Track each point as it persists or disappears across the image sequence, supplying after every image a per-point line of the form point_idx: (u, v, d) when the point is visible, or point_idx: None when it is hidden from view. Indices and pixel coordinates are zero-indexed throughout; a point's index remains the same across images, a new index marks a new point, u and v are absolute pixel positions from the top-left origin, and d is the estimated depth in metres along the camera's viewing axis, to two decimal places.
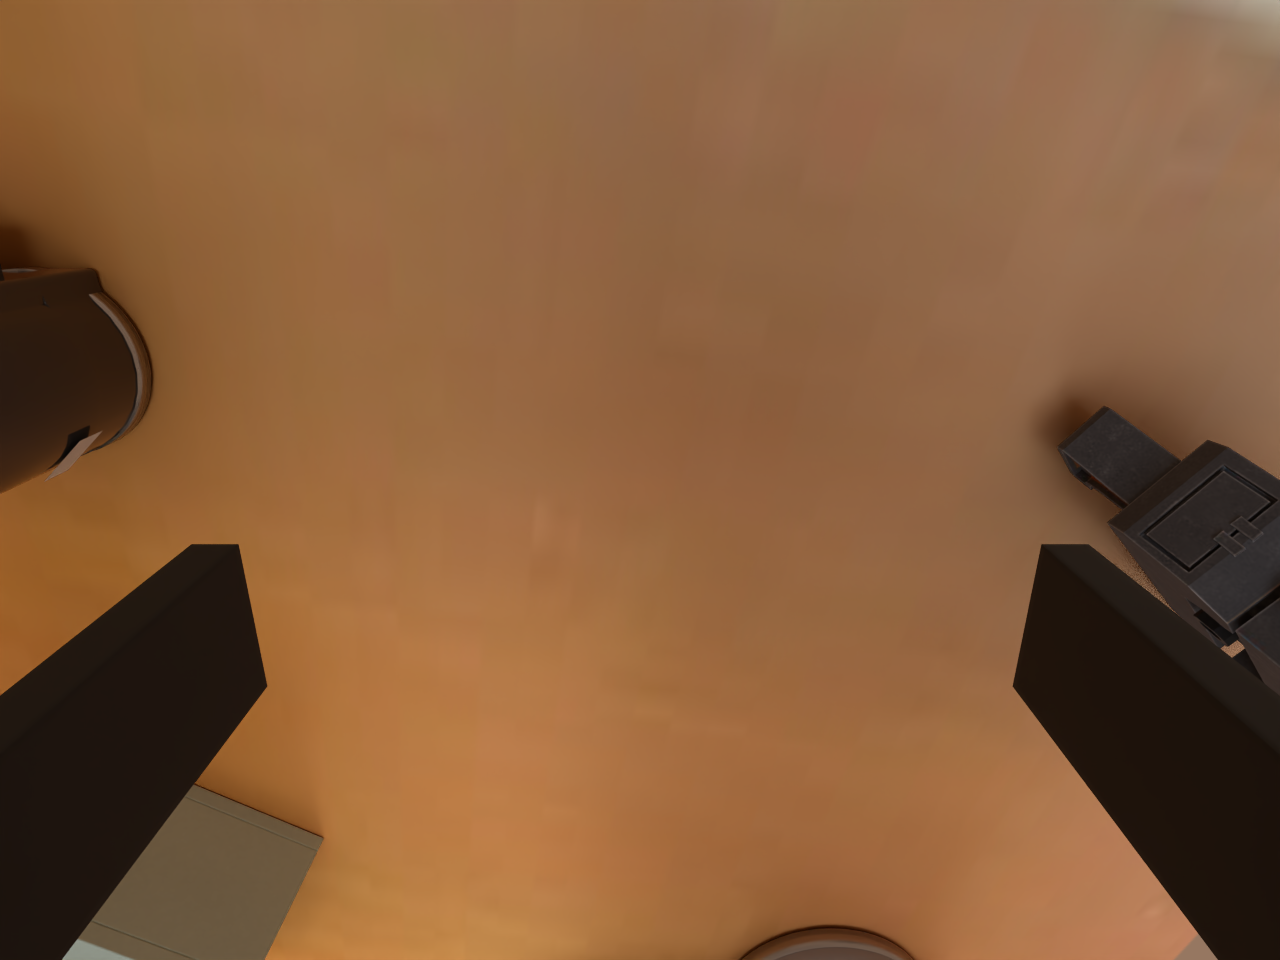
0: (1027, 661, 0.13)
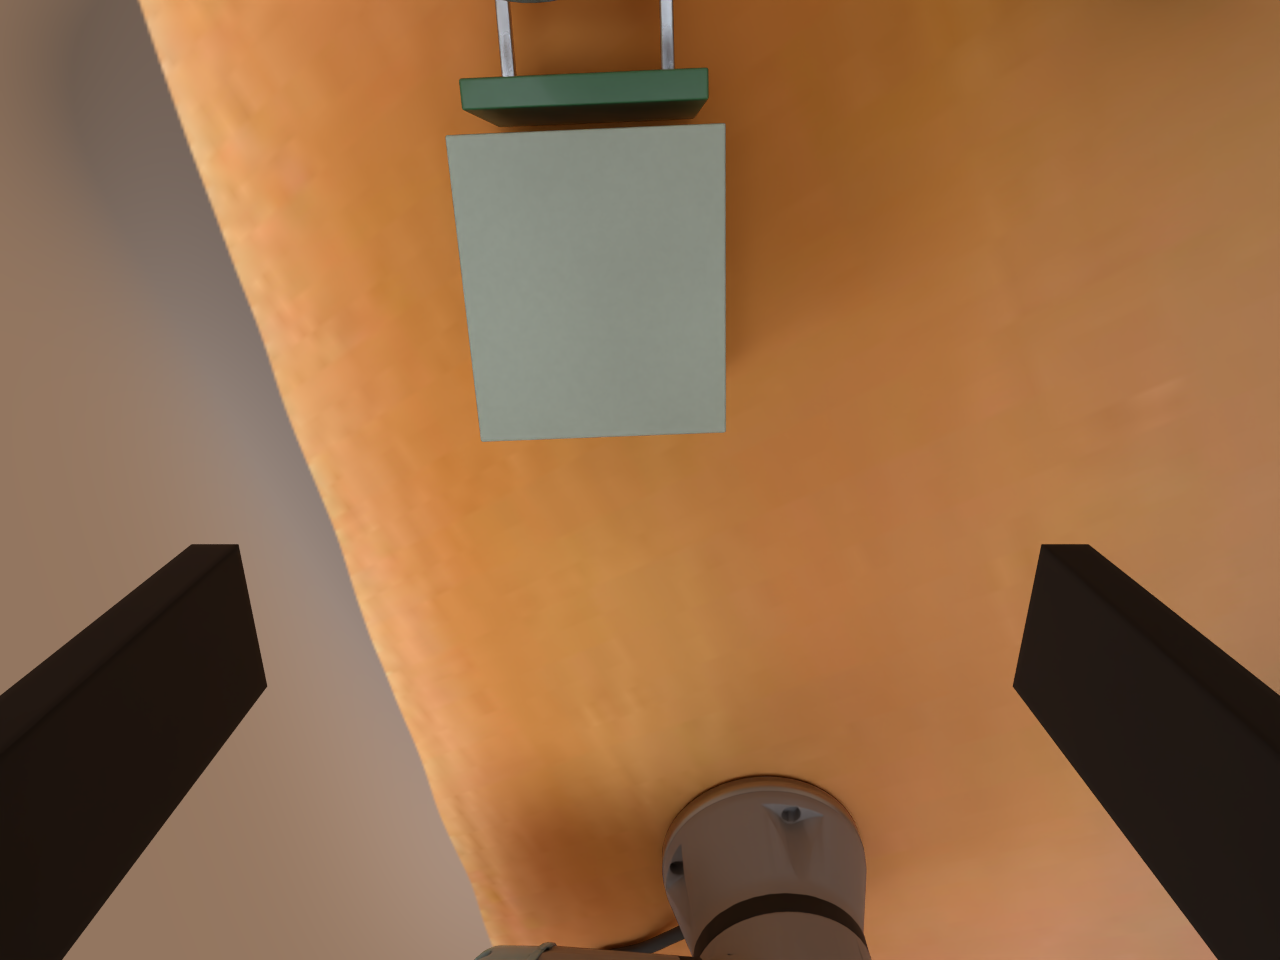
0: (1027, 661, 0.13)
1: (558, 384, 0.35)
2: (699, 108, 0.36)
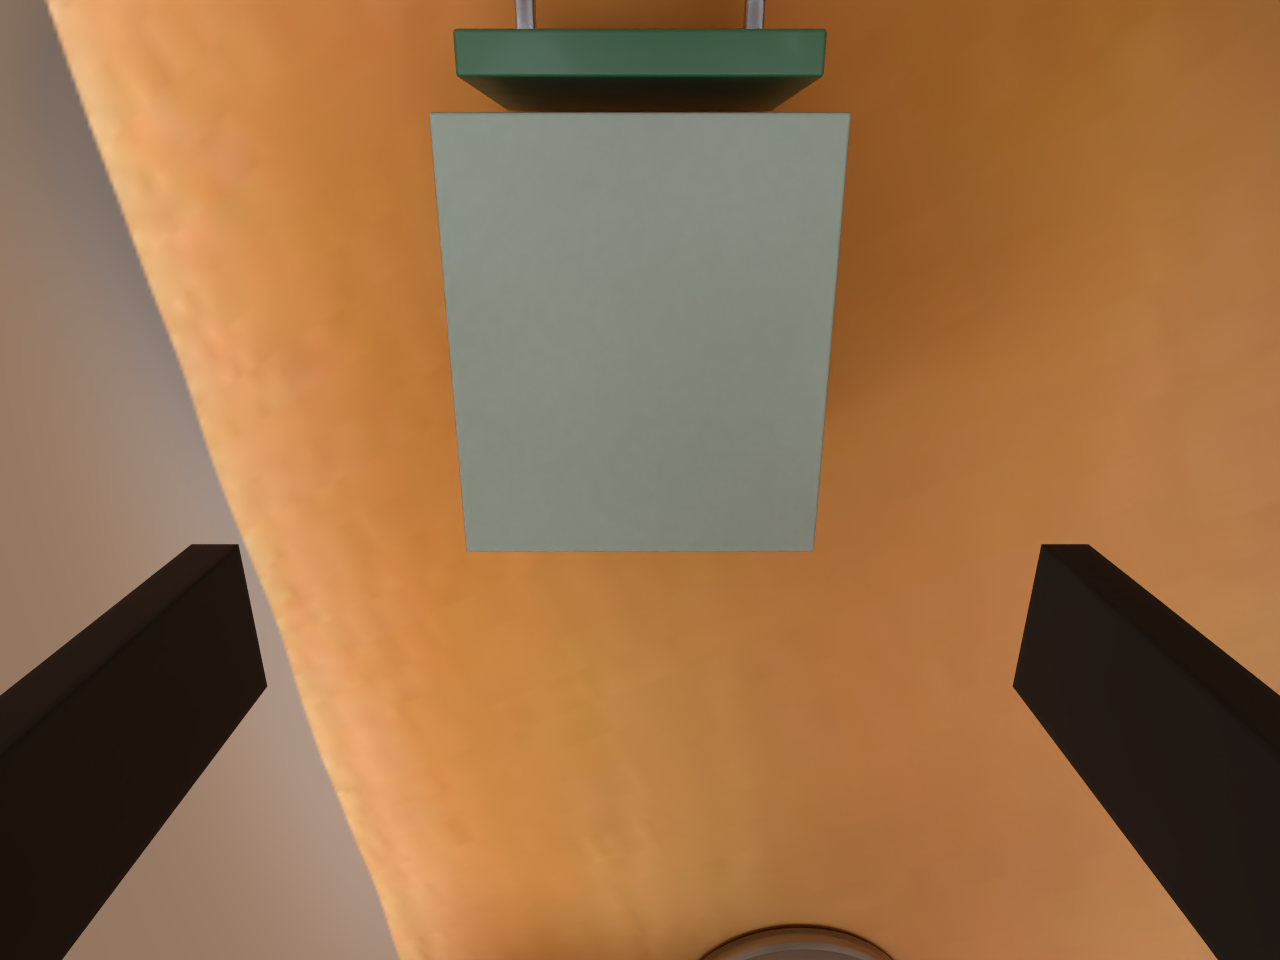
0: (1026, 661, 0.13)
1: (580, 478, 0.25)
2: (795, 93, 0.25)
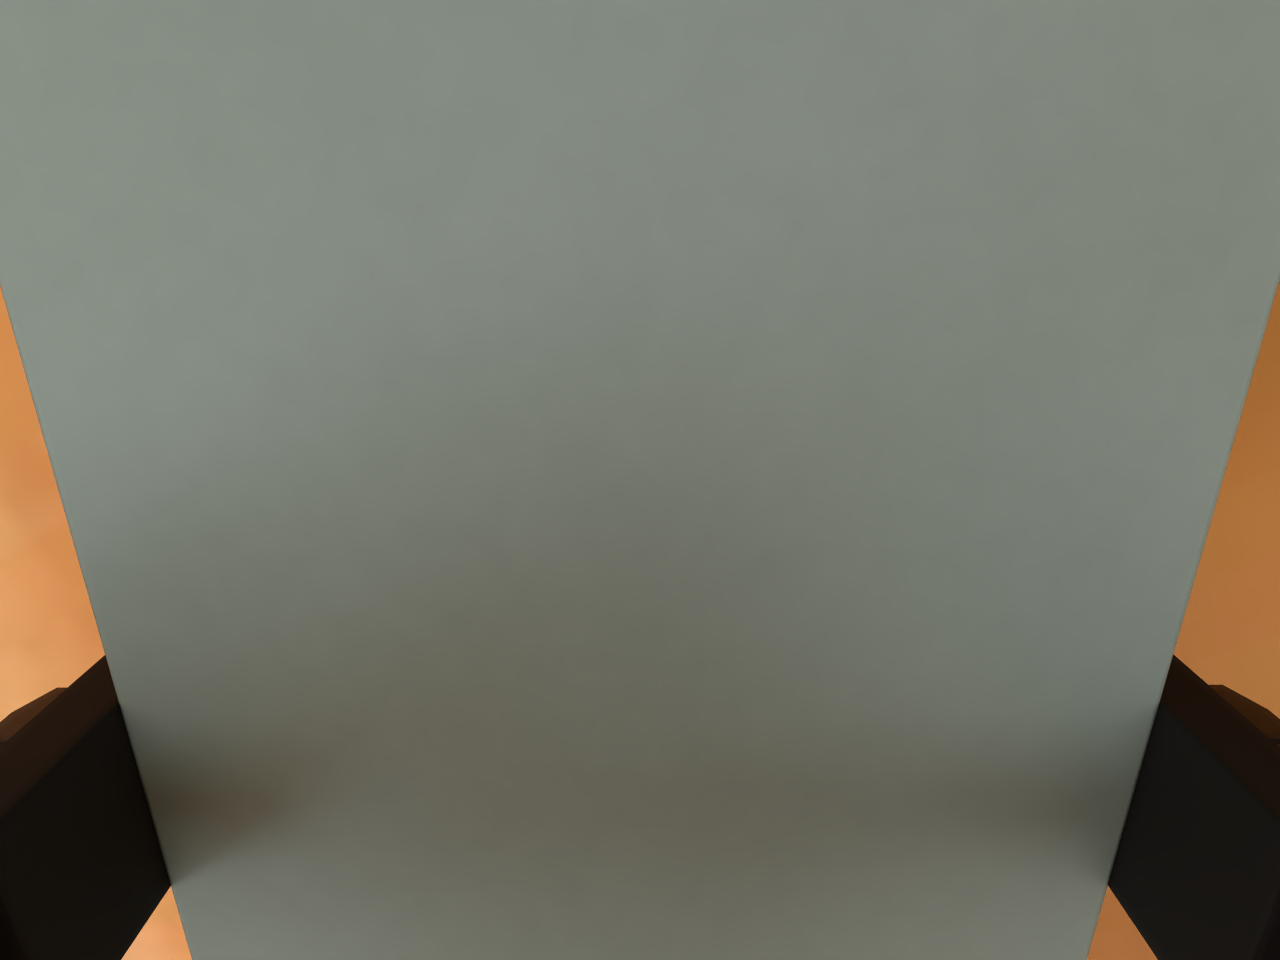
0: None
1: (486, 906, 0.10)
2: None
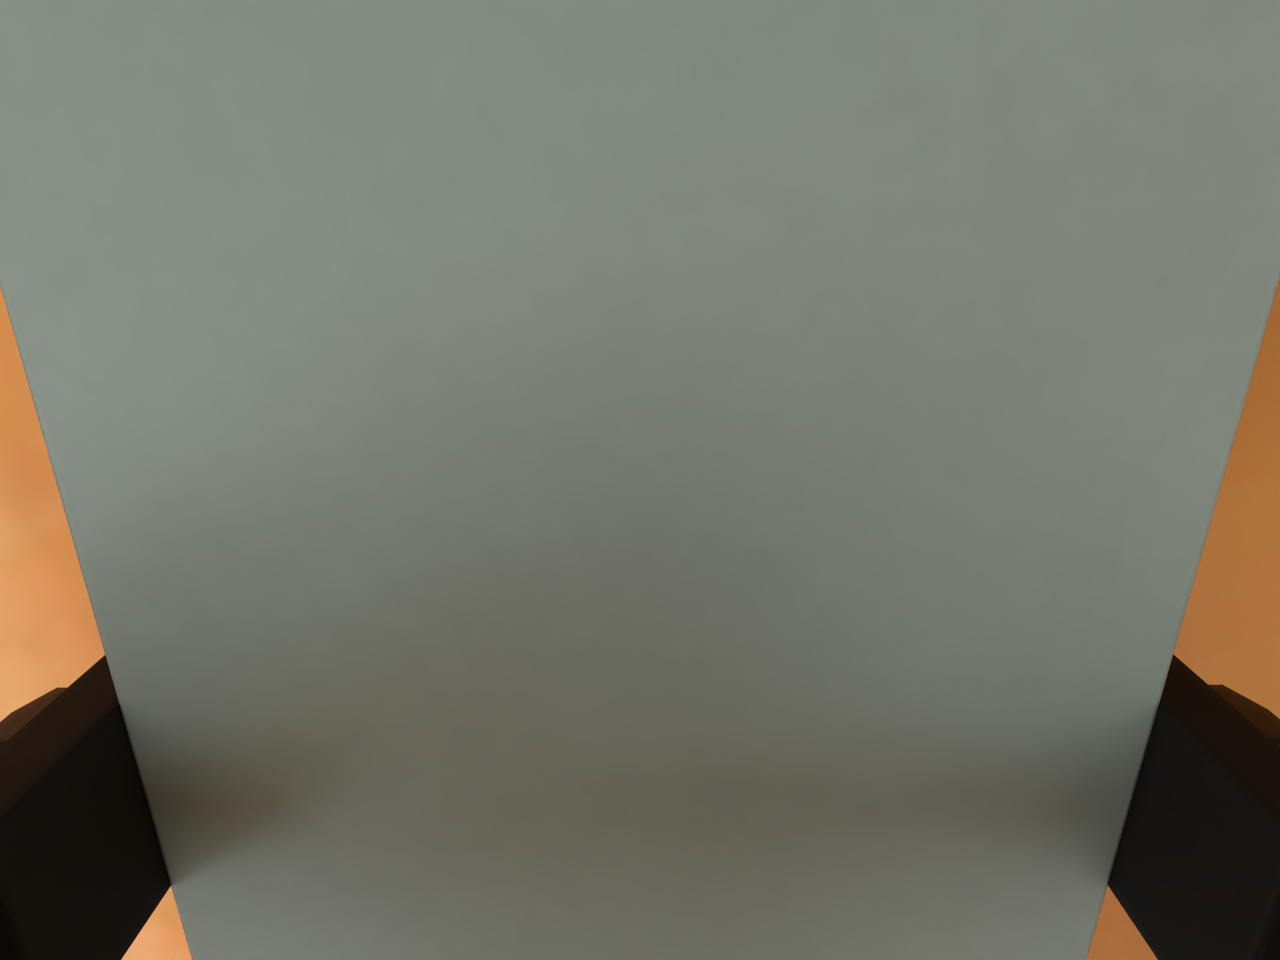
0: None
1: (485, 906, 0.10)
2: None
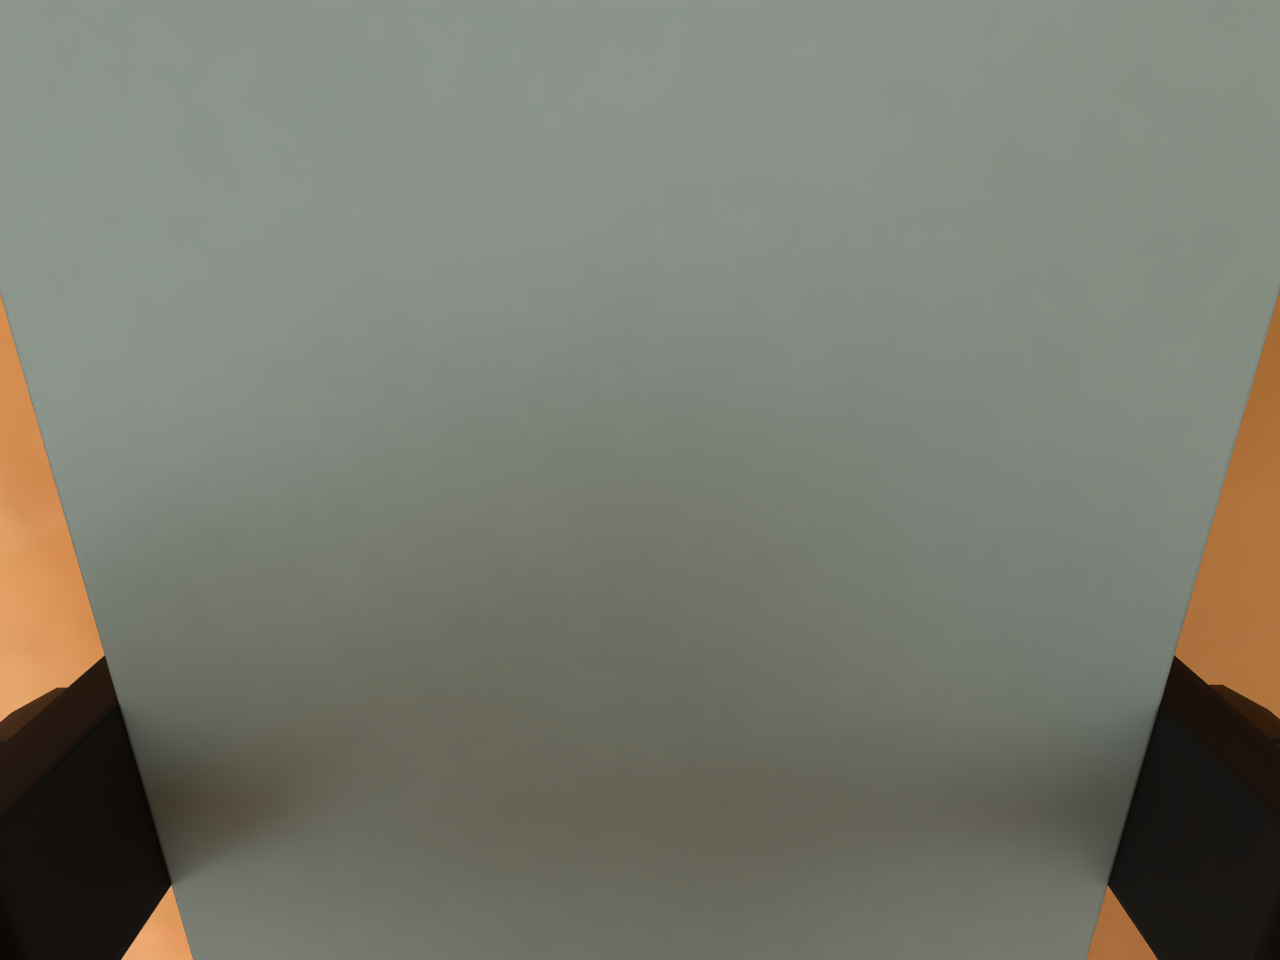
0: None
1: (485, 905, 0.10)
2: None
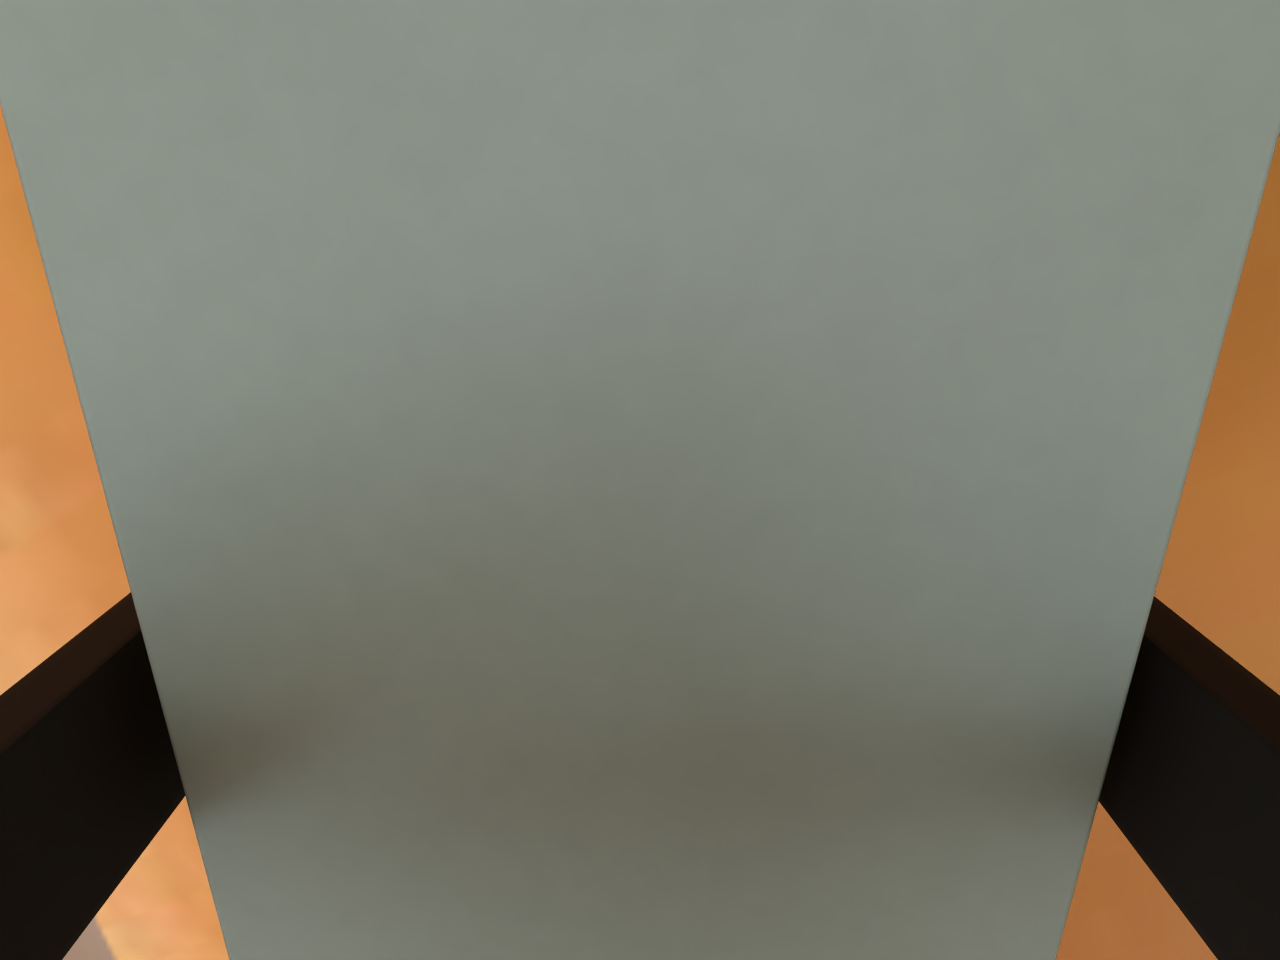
0: None
1: (495, 853, 0.10)
2: None
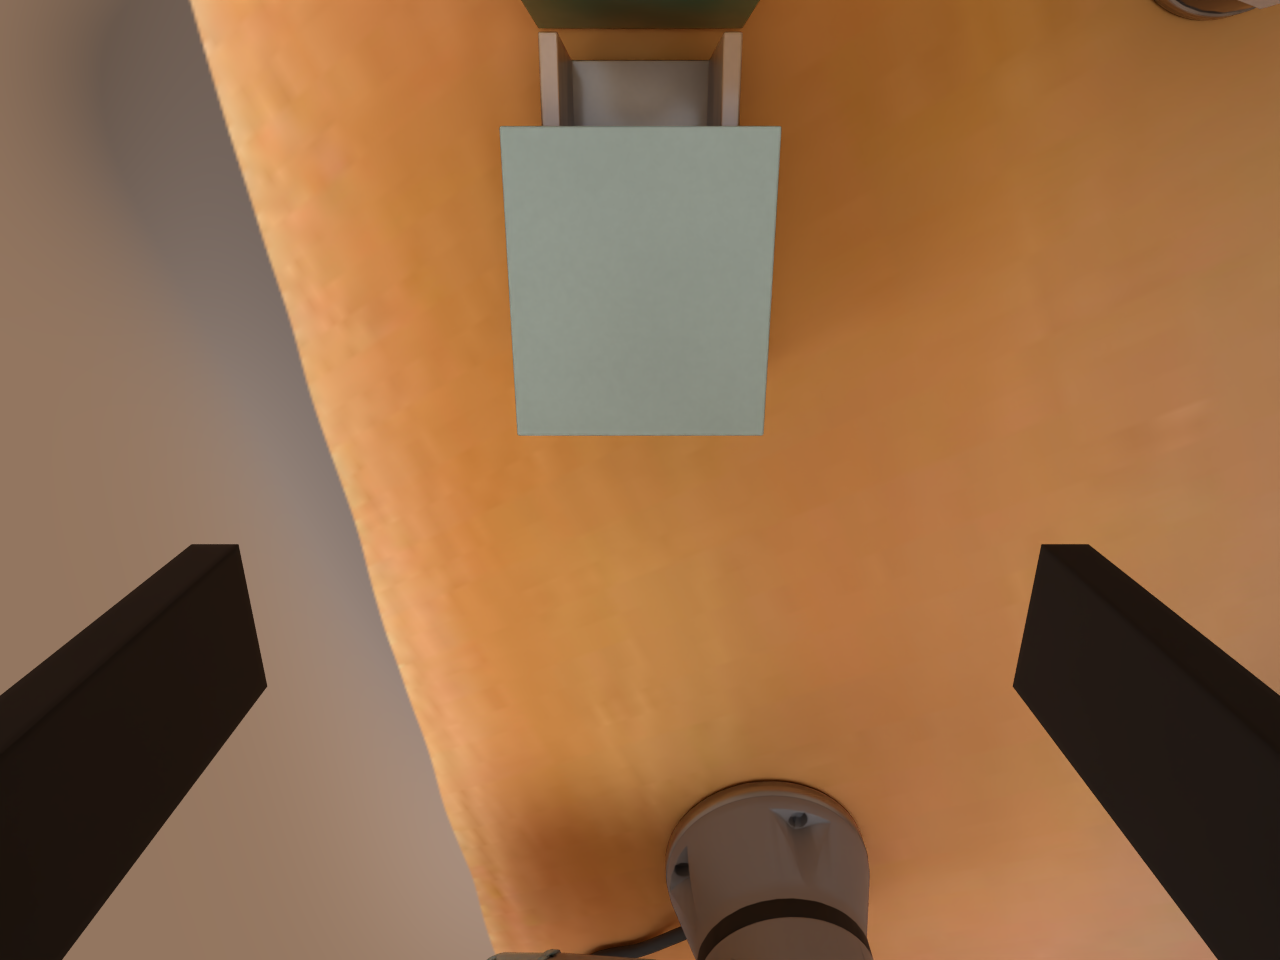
0: (1027, 661, 0.13)
1: (598, 381, 0.35)
2: (754, 5, 0.34)
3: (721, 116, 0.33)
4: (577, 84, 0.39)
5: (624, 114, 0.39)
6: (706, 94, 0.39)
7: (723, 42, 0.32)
